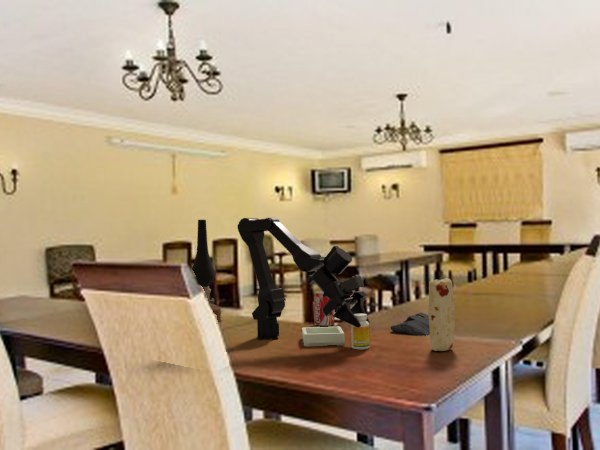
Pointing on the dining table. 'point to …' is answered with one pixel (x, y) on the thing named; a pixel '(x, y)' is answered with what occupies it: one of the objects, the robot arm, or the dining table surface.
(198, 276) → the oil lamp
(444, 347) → the food model
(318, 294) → the soda can
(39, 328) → the dining table surface
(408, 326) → the dark slate chunk
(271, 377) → the dining table surface
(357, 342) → the supplement bottle
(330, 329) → the bin
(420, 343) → the dining table surface
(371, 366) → the dining table surface
